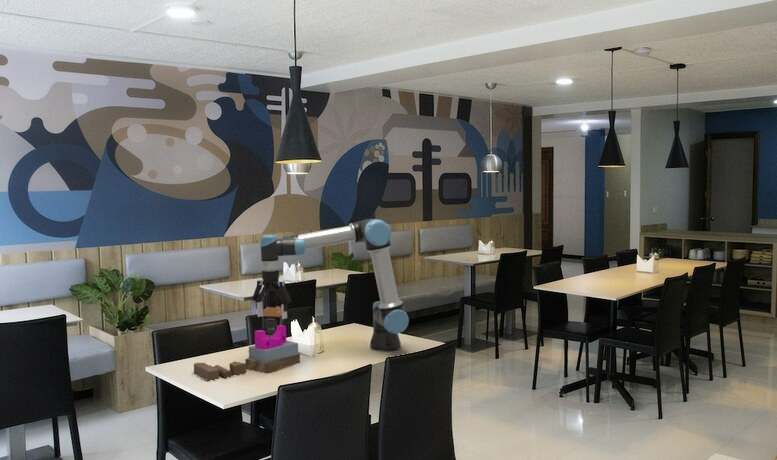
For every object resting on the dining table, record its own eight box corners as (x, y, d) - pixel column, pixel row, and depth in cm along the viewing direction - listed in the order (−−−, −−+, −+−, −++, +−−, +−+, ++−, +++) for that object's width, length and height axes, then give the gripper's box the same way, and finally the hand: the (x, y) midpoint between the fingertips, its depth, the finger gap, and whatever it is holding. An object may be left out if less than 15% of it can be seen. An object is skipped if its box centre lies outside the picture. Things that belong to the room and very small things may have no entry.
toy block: (264, 349, 279) (264, 332, 278) (255, 347, 283) (254, 331, 282) (290, 343, 290) (289, 326, 290) (280, 341, 294) (280, 324, 294)
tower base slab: (300, 363, 292) (299, 353, 292) (269, 375, 276) (268, 363, 275) (277, 359, 300) (276, 349, 300) (245, 370, 283) (245, 359, 283)
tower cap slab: (298, 354, 290) (298, 343, 290) (265, 362, 277) (265, 351, 277) (281, 349, 298) (281, 339, 298) (249, 357, 285) (248, 346, 285)
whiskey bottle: (287, 348, 319) (285, 284, 317) (280, 353, 310) (278, 287, 308) (267, 347, 321) (265, 284, 319) (260, 352, 311) (258, 287, 309)
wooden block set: (209, 369, 265) (192, 360, 279) (209, 383, 265) (193, 373, 279) (247, 361, 275) (229, 353, 289) (247, 375, 276) (229, 366, 290)
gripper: (242, 270, 288) (244, 317, 289) (287, 272, 276) (289, 321, 277) (253, 268, 294) (255, 313, 296) (298, 270, 283) (300, 317, 284)
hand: (272, 317), depth 287 cm, fingers open, 13 cm apart
